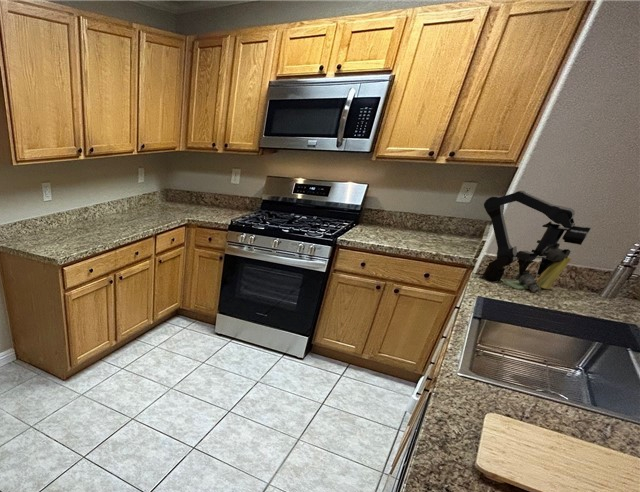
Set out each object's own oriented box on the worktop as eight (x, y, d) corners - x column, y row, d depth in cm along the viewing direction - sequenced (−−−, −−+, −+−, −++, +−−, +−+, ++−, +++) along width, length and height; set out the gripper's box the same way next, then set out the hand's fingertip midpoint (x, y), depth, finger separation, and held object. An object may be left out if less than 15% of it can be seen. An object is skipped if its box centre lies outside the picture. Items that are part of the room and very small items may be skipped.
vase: (532, 283, 194) (554, 253, 186) (548, 287, 191) (571, 257, 184) (534, 286, 189) (557, 255, 182) (550, 290, 187) (574, 259, 179)
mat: (502, 283, 195) (502, 281, 194) (517, 282, 196) (518, 280, 196) (518, 289, 188) (519, 287, 188) (534, 288, 190) (535, 286, 189)
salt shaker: (533, 270, 188) (551, 287, 181) (521, 280, 193) (538, 298, 186) (523, 269, 187) (540, 286, 180) (511, 279, 192) (527, 296, 185)
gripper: (548, 244, 171) (526, 280, 180) (588, 244, 173) (565, 280, 181) (524, 237, 180) (505, 272, 189) (562, 237, 182) (541, 272, 191)
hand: (529, 274), depth 187 cm, fingers open, 9 cm apart
